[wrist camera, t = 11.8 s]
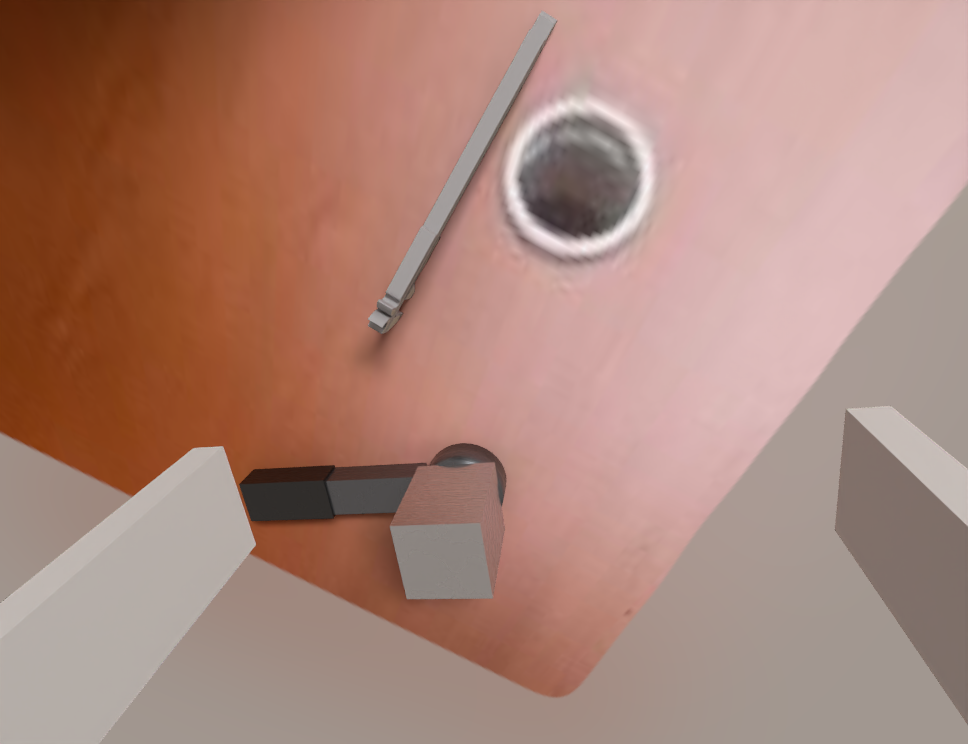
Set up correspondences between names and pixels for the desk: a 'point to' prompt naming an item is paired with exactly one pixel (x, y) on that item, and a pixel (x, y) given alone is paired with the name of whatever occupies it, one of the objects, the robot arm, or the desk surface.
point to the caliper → (460, 177)
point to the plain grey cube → (450, 532)
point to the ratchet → (345, 486)
